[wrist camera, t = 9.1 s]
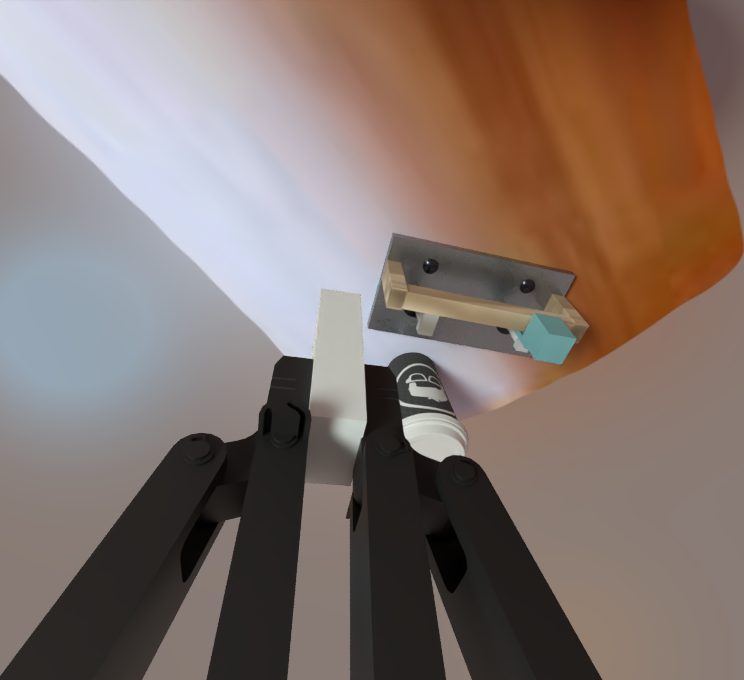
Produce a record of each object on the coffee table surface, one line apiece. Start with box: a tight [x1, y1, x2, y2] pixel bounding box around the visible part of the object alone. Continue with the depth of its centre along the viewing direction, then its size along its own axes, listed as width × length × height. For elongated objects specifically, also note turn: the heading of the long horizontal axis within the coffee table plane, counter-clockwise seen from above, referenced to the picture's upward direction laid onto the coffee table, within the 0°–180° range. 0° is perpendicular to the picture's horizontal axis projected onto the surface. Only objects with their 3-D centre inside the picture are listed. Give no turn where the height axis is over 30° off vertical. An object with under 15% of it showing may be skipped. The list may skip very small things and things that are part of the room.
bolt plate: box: [368, 233, 575, 357], centre depth 54 cm, size 12×22×1 cm, turn 76°
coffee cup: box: [388, 353, 468, 462], centre depth 54 cm, size 10×10×15 cm
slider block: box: [508, 313, 576, 365], centre depth 49 cm, size 6×3×10 cm, turn 166°
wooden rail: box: [382, 260, 589, 343], centre depth 50 cm, size 5×22×6 cm, turn 76°
